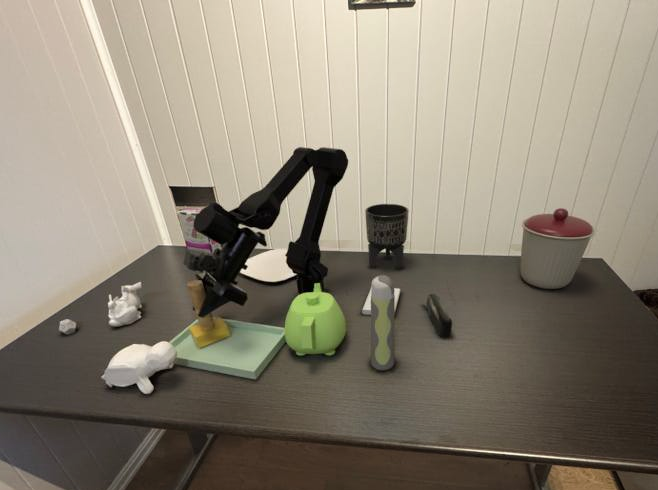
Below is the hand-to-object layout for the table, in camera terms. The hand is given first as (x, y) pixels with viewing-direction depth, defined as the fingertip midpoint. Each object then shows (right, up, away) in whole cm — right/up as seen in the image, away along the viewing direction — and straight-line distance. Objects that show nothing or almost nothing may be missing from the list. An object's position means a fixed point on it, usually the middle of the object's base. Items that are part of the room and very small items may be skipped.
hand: (197, 313), depth 81 cm
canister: (+88, +9, +27) cm, 93 cm away
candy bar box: (-18, +18, +46) cm, 52 cm away
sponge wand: (+1, -5, +4) cm, 7 cm away
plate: (+8, +14, +38) cm, 42 cm away
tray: (+6, -8, +2) cm, 10 cm away
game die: (-35, -5, +9) cm, 36 cm away
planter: (+43, +16, +39) cm, 60 cm away
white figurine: (-23, -1, +14) cm, 27 cm away
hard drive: (+41, +2, +18) cm, 45 cm away
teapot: (+26, -7, +3) cm, 27 cm away
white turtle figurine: (-7, -13, -6) cm, 16 cm away
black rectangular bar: (+54, -2, +10) cm, 55 cm away
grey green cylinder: (+40, -11, -3) cm, 42 cm away
